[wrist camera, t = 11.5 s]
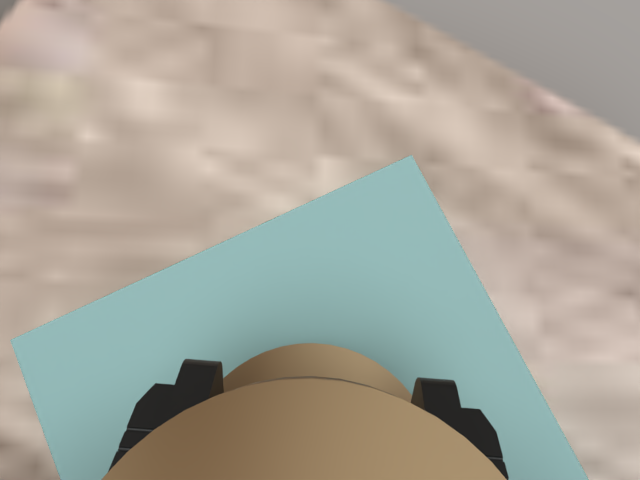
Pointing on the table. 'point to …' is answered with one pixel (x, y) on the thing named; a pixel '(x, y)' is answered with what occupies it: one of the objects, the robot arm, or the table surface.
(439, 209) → the mat
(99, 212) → the table surface
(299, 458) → the tan chess pawn
